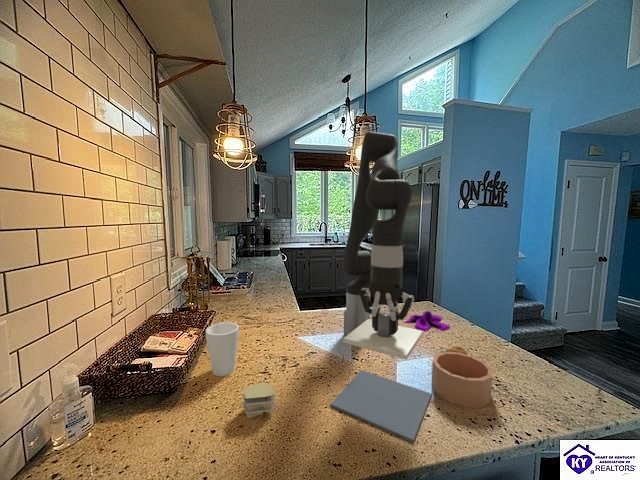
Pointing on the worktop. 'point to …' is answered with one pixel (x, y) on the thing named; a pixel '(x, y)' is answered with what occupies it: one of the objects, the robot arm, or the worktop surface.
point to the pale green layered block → (258, 399)
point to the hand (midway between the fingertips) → (384, 331)
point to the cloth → (427, 321)
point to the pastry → (457, 350)
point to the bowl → (462, 379)
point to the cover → (385, 337)
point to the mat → (384, 404)
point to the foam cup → (222, 347)
